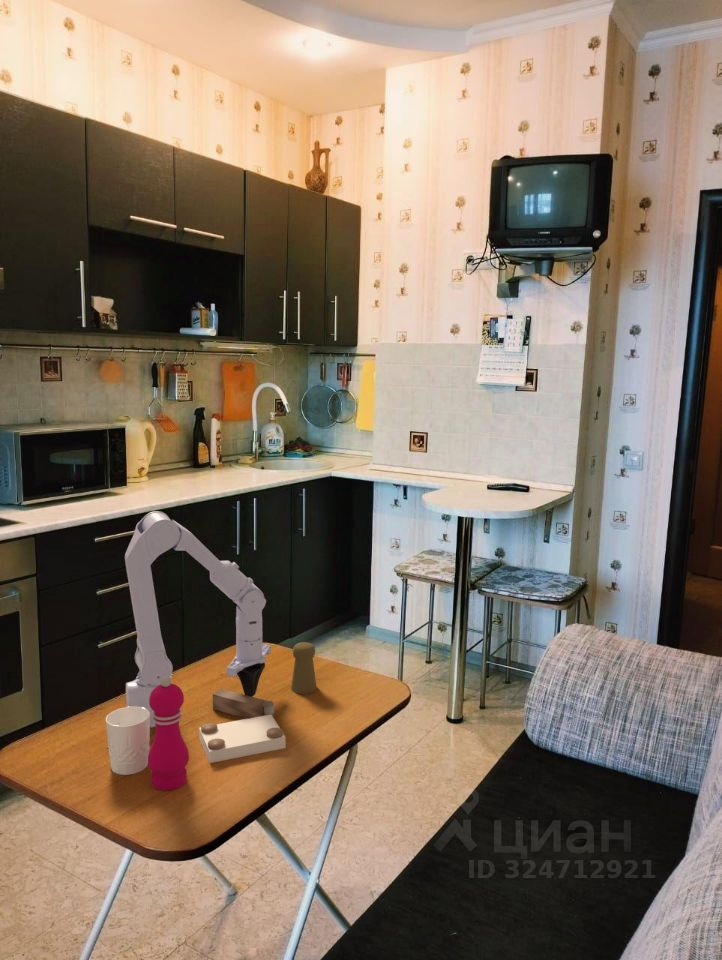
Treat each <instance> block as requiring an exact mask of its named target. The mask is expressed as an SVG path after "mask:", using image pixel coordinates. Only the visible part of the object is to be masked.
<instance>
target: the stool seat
mask: <svg viewBox="0 0 722 960" xmlns="http://www.w3.org/2000/svg"><path fill="white" fill-rule="evenodd" d="M198 732H199V733H198V737H199V741H200V743H201V745H202V747H203V750H204V753H205V755H206V757H207V760H208V763H209V764H212V763H216V762H222V761H227V760H231V759H239V758H242V757H246V756H251V755H257V754H262V753H267V752H272V751H278V750H283V749H286V745H287V744H286V735H285V734H284V730H283V729H282V728H280V725H279V724H278V723H277V721H276V719H275V717H274V718H273V717H272V715H265V716H260V717H254V718H249V719H246V718H243V719H238V720H233V721H228V722H222V723H221V722H220V723H218V724H215V722H214V723H213V722H210V723H209V722H208V723H205V724H202V725H201V726H200V727H198Z"/></svg>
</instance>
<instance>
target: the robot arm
mask: <svg viewBox="0 0 722 960" xmlns="http://www.w3.org/2000/svg"><path fill="white" fill-rule="evenodd" d="M172 548H173V550H174V551H185V552H186V553H188V554H189V555H190V556H191V557H192V558H194V560H196V561H197V562H198V563H199V564H201V565H202V566H203V567H204V568H205V569H206V570H207V571H209V580H210V581H211V583H212V584H213V585H214V586H215V587H217V588H218V590H220V591H221V592H222V593H224V594H225V596H227V597H228V598H229V599H230V600H232V602H233V603H235V604H236V606H235V607H236V609H235V610H236V612H235V615H236V617H235V627H236V629H235V630H236V631H235V633H236V634H235V635H236V636H235V637H236V639H235V640H236V641H235V645H236V646H235V647H236V651H235V652H236V654H235V656H234V658H233V659H232V661H231V662H230V664H229V665H228V666H226V676H228V677H232V678H235V677H238V678H239V681H240V683H241V687H242V690H243V693H244V694H243V695H247V696H251V697H254V696H255V695H256V694H257V693H256V692H257V689H258V684H259V681H260V678H261V675H262V673H263V672H264V670H265V668H266V662H267V657H266V655H267V656H269V655H271V654H272V651H271V650H272V646H271V645H269V644H263V614H262V613H263V609H264V608H265V606H266V603H267V599H266V597H265V596H264V595H265V594H264V593H263V591H262V590H261V589H260V588H259V587H257V586H256V585H255V584H254V580H253V579H252V578H251V577H247V576H246V575H245V574H244V573H243V572H241V571H240V569H239V568H240V566H239V565H238V564H237V563H236V562H235V561H233V562H231V561H230V560H219V558H218V557H216V555H214V554H213V552H211V551H210V550H209V549H208V548H207V547H206V546H205V545H204V544H203V543H202V542H201V541H200V540H199V539H198V538H197V537H196V536H195V535H194V534H193V533H192V532H191V531H189V530H188V529H187V528H186V527H185V526H183V525H181V524H180V523H178V522H177V521H175V520H174V519H170V517H169V516H168V515H167V513H164V512H163V511H159V510H158V511H157V510H155V511H151V512H148V513H147V514H145V515H144V516H143V517H142V518H141V520H140V521H138V522H137V524H136V526H135V529H134V533H133V534H132V538H131V539H130V542H129V544H128V547H127V549H126V551H125V554H124V561H125V568H126V574H127V575H126V576H127V580H128V587H129V592H130V593H129V594H130V600H131V605H132V606H131V607H132V612H133V618H134V624H135V629H136V636H137V638H136V645H137V647H136V651H135V654H134V661H135V664H136V666H137V667H138V669H139V671H138V673H137V674H136V675H137V676H136V678H135V679H134V680H132V681H129V682H126V683H125V701H126V702H125V703H126V704H125V705H126V706H125V707H142V708H145V709H147V710H148V711H149V712H150V728H151V729H152V728H156V725H155V723H154V722H153V715H152V714H153V710H152V709H151V707H150V705H149V697H150V694H151V692H152V691H153V689H154V688H156V687H157V686H159V685H161V680H162V679H163V678H164V677H169V678H170V679H171V684H173V681H172V679H173V678H172V675H173V670H174V669H173V668H174V667H173V664H172V662H171V660H170V659H169V658H168V656H167V653H166V649H165V644H164V642H163V637H162V633H161V632H162V631H161V628H160V627H161V625H160V619H159V618H160V617H159V612H158V606H157V599H156V593H155V586H154V580H153V574H152V567H151V565H152V564H153V562H154V561H156V559H157V558H159V556H160V555H162V554H163V553H165V552H167V551H169V550H170V549H172ZM210 581H209V582H210Z"/></svg>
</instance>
